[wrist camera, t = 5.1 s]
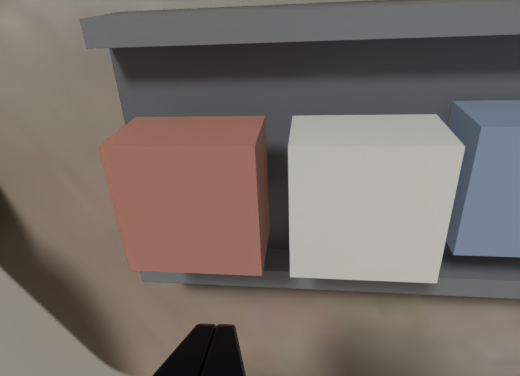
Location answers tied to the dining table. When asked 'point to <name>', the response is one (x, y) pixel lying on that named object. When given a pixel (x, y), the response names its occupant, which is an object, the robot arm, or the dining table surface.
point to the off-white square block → (371, 196)
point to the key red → (191, 193)
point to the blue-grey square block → (487, 179)
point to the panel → (319, 93)
